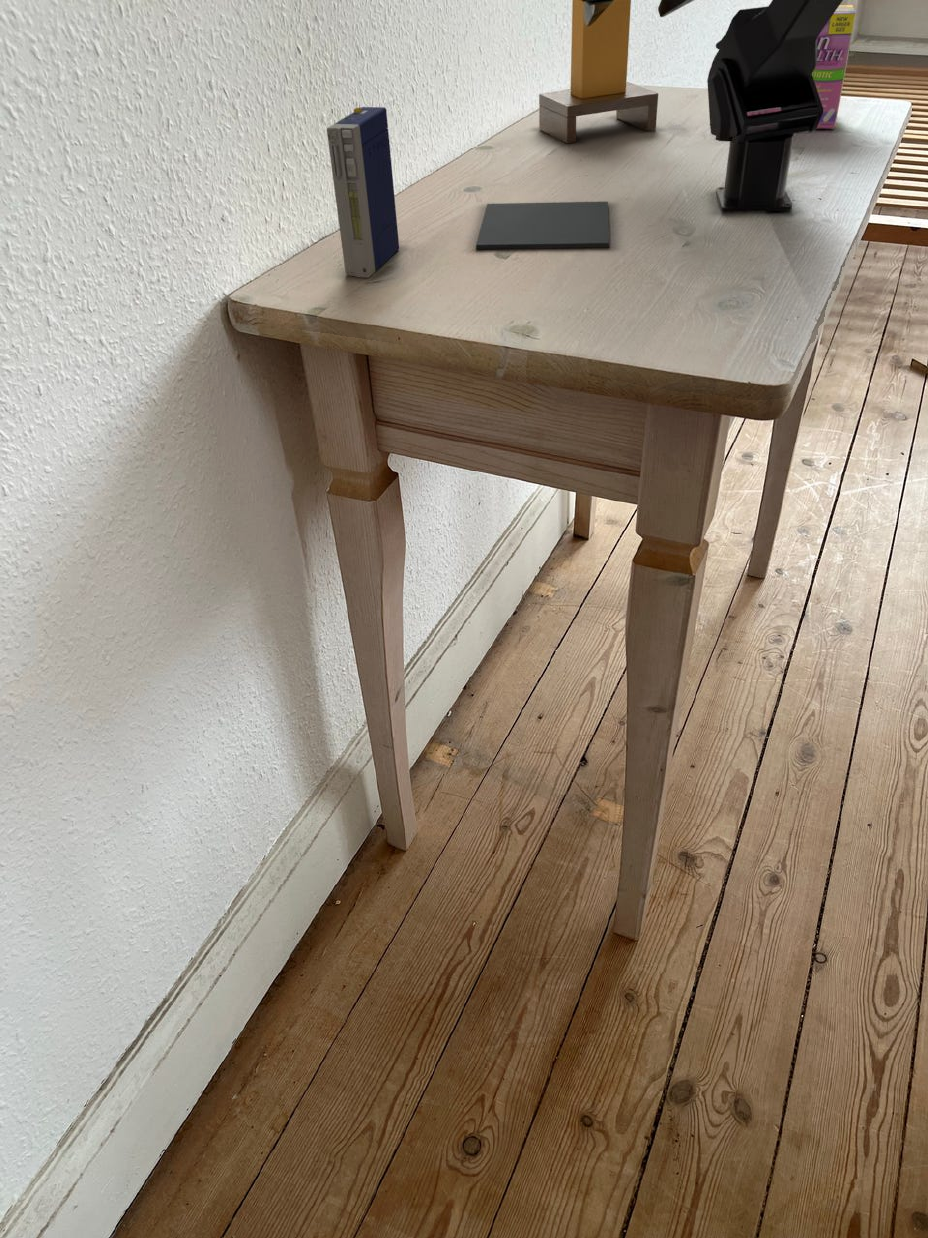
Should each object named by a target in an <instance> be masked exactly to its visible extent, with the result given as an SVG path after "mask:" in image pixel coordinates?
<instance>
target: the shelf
mask: <svg viewBox="0 0 928 1238" xmlns="http://www.w3.org/2000/svg"><path fill="white" fill-rule="evenodd" d="M570 92H571V88H570V89H564V90H563V89H562V90H556V91H549V92H548V91H547V92H543V93H539V94H538V104H539V105H538V106H539V107H538V129H539V131H542V132H544V133H545V134H546V135H549V136H551V137H553V138H555V139H557V140H560V141H561V142H563V143H564V144H574V143H576V141H577V117H581V116H582V117H583V116H588V115H594V114H600V113H601V114H602V113H609V112H614V111H616V112H615V117H616V119H618V120H620V121H622V122H625V123H627V124H629V125H632V126H635V127H637V128H639V129H641V130H643V131H645V132H651V131H656V129H657V119H658V107H659V106H658V104H659V92H657V91H654V90H651V89H648V88H646V87H642V86H640V85H637V84H635V83H632V82H630V81H626V92H625V93H618V94H611V95H604V96H597V97H590V98H583V99H581V98H579V97H576V96H574V95H571V94H570Z"/></svg>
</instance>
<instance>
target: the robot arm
mask: <svg viewBox="0 0 928 1238" xmlns="http://www.w3.org/2000/svg"><path fill="white" fill-rule="evenodd" d="M582 1H583V2H584V21H585V24H586V26H590V25H592V24H593V23H594V22H595V21H596V20H597V19H598V18H599V17H600V15H601V14H602V13H603V12H604V11H605V10H606V9H607V8H608V6H609V5H610V4H611V3H612V2H613V0H582ZM694 1H695V0H660V2H659V5H658V7H657V12H658V14H659V17H660V18H665V17H666V16H668V15H671V14H672V13H674V12H676V11H677V10H679V9H681V8H683V7H685V6H686V5H689V4H690V3H692V2H694ZM843 1H844V0H771V2H770V3H769V4H768V6H758V7H751V8H742V9H739V10H738V11H737V12H736V14H734V15H733V17H732V19H731V20H730V23H729V25H728V27H727V30H726V32H725V34H724V35H723V36H722V38H721V39H720V40H719V41H717V42H716V44H715V48H716V49H717V50H718V51H717V52H716V54H715V55H714V58H713V60H712V62H711V65H710V68H709V70H708V74H707V79H706V81H707V97H708V112H709V113H708V114H709V116H708V117H709V127H710V129H709V130H710V134H711V135H713V136H715V141H718V142H729V147H728V153H727V163H726V169H725V170H726V171H725V179H724V186H718V187H716V189H715V194H716V197H717V200H718V204H719V207H720V210H721V212H724V213H741V212H746V213H747V212H748V213H750V212H790V211H792V210H793V203H792V201H791V199H790V196H789V195H788V193H787V191H786V188H787V181H788V175H789V169H790V163H791V158H792V152H793V151H792V150H793V146H794V140H795V139H794V138H795V135H797V134H803V133H815V132H816V131H817V126H818V124H819V122H820V119H821V117H822V114H823V106H822V103H821V100H820V97H819V94H818V91H817V88H816V85H815V82H814V79H813V76H812V73H813V71H814V69H815V67H816V65H817V38H818V36H819V34H820V33H821V31H822V30H823V28H824V27H825V25H826V24H827V22H828V21H829V20H830V18H831V17H832V15H833V14H834V12H835V11H836V9H837V8H838V7H839V5H842V2H843ZM778 108H781V111H776V112H769V113H763V114H756V115H750V116H748V115H747V113H751V112H758V111H764V110H771V109H778Z"/></svg>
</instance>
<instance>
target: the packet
mask: <svg viewBox="0 0 928 1238" xmlns="http://www.w3.org/2000/svg"><path fill="white" fill-rule="evenodd" d="M571 2H572V5H571V10H572V11H571V47H570V48H571V49H570V50H571V51H570V52H571V53H570V89H571V92H570V94H571V95H574V96H576V97H579V98H581V99H583V98H590V97H597V96H604V95H611V94H618V93H625V92H626V82H628V81H627V79H628V78H627V77H628V63H629V62H628V61H629V46H630V45H629V44H630V43H629V42H630V25H631V9H632V7H631V6H632V0H613V2H612V3H611V4H610V5H609V6H608V8H607V9H606V10H605V11H604V12H603V13H602V14H601V15H600V17H599V18H598V19H597V20H596V21H595V22H594V23H593V24H592V25H590V26H586V24H585V21H584V2H583V1H582V0H572V1H571Z"/></svg>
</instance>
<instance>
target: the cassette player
mask: <svg viewBox="0 0 928 1238" xmlns="http://www.w3.org/2000/svg"><path fill="white" fill-rule="evenodd" d="M326 133H327V134H326V135H327V143H328V148H329V151H328V152H329V157H330V165H331V173H332V180H333V189H334V195H335V203H336V210H337V211H336V212H337V218H338V219H337V220H338V226H339V234H340V241H341V248H342V254H343V257H342V258H343V262H344V263H343V264H344V271H345V276H350V277H351V276H352V277H355V278H363V279H364V278H367V279H369V278H370V277H372V275H374V274H375V273H376V272H377V271H378V270H379V269H380V268H381V267H382V266H383V265H384V264H385V263H386V262H387V261H388V260H389V259H390V258H391V257H392V256H393V255H395V253H397V251H398V250H400V240H399V231H398V220H397V210H396V209H397V207H396V197H395V190H394V189H395V186H394V176H393V175H394V174H393V166H392V157H391V156H392V155H391V145H390V133H389V124H388V113H387V108H386V107H383V106H381V107H380V106H361V107H355V108H354V109H353V112H351V113H350V114H348V115H346V116H345V117H343V118H342V119H340V120H338V121H337V122H335V123H334V124H332V125H330V126H327V128H326Z"/></svg>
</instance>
